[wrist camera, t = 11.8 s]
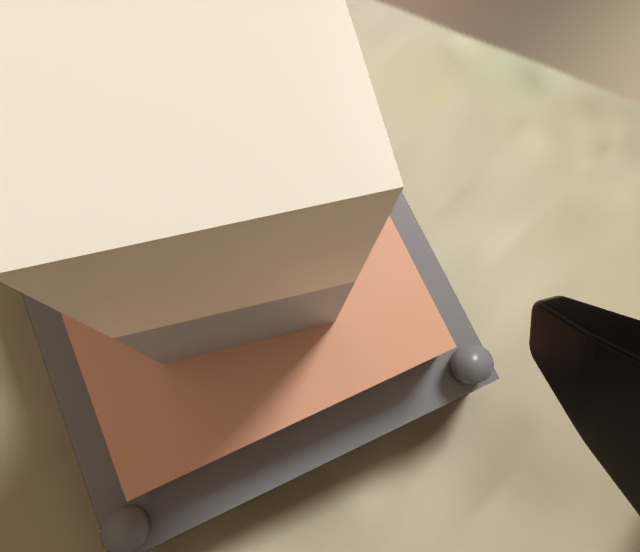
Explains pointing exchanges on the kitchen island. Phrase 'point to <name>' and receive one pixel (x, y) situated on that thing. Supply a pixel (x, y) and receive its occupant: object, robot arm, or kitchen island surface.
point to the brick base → (280, 449)
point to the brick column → (188, 166)
